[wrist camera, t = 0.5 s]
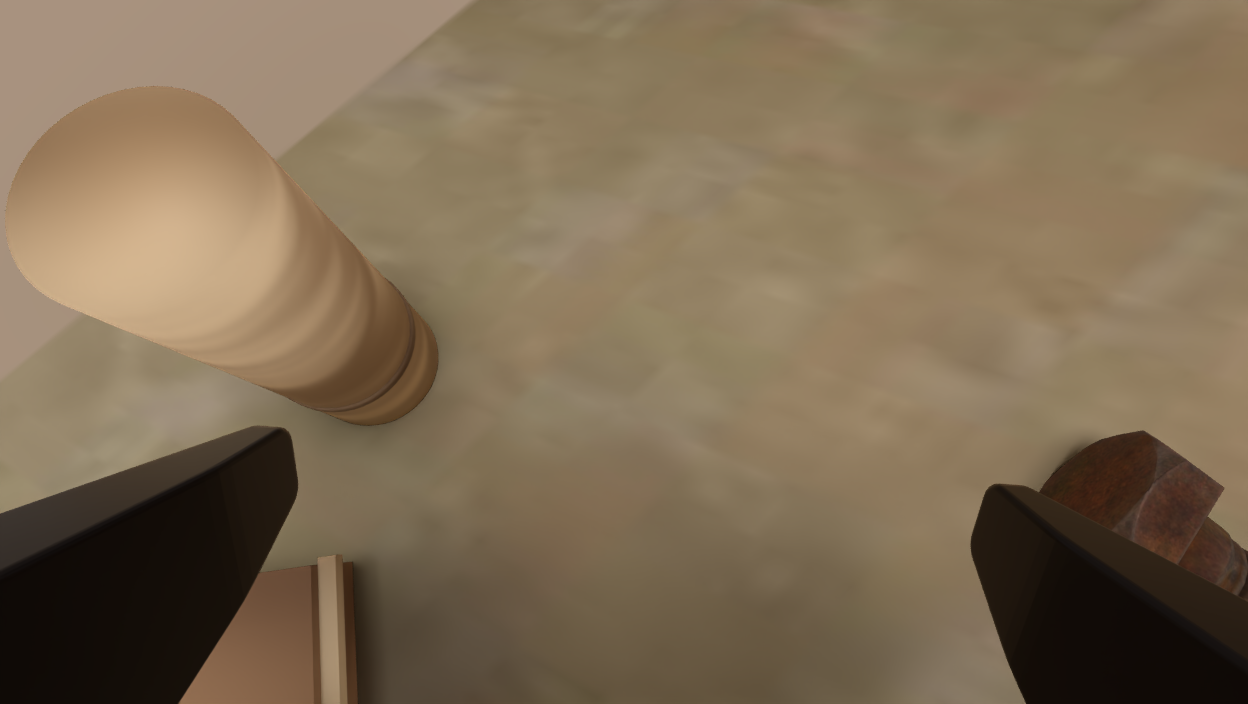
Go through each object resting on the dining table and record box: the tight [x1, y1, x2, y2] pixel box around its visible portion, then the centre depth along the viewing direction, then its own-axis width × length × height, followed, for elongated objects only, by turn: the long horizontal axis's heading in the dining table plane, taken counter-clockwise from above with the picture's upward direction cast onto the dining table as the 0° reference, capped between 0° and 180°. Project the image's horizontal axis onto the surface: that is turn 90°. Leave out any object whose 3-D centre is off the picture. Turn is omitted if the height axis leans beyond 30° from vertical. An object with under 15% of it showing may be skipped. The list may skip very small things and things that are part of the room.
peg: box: [5, 86, 438, 426], centre depth 18 cm, size 4×4×12 cm
